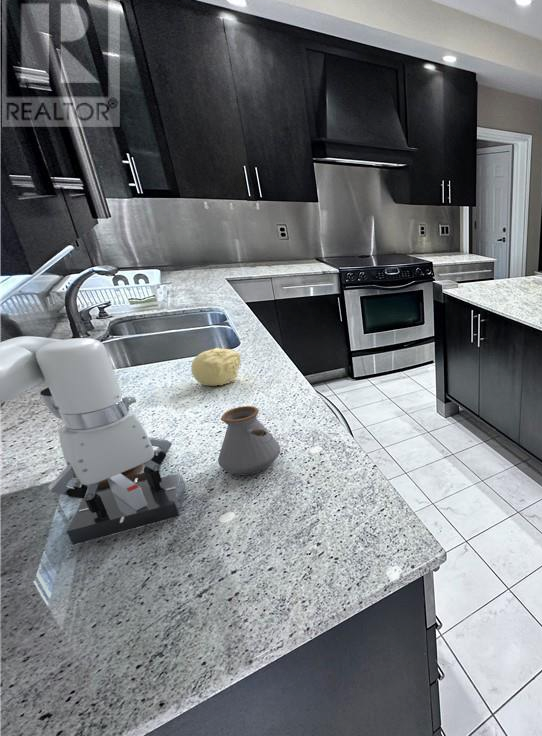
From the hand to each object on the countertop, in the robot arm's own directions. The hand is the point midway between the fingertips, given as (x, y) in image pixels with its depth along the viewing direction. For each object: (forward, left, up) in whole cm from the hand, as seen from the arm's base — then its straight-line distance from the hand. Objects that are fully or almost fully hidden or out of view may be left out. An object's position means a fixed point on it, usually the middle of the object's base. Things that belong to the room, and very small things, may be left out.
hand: (129, 498), depth 73 cm
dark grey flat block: (0, 0, -3) cm, 3 cm away
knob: (0, 0, 0) cm, 0 cm away
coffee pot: (+20, +2, -3) cm, 20 cm away
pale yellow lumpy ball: (+11, +59, -3) cm, 60 cm away
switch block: (-4, +15, -3) cm, 16 cm away
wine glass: (-12, +30, -3) cm, 32 cm away
